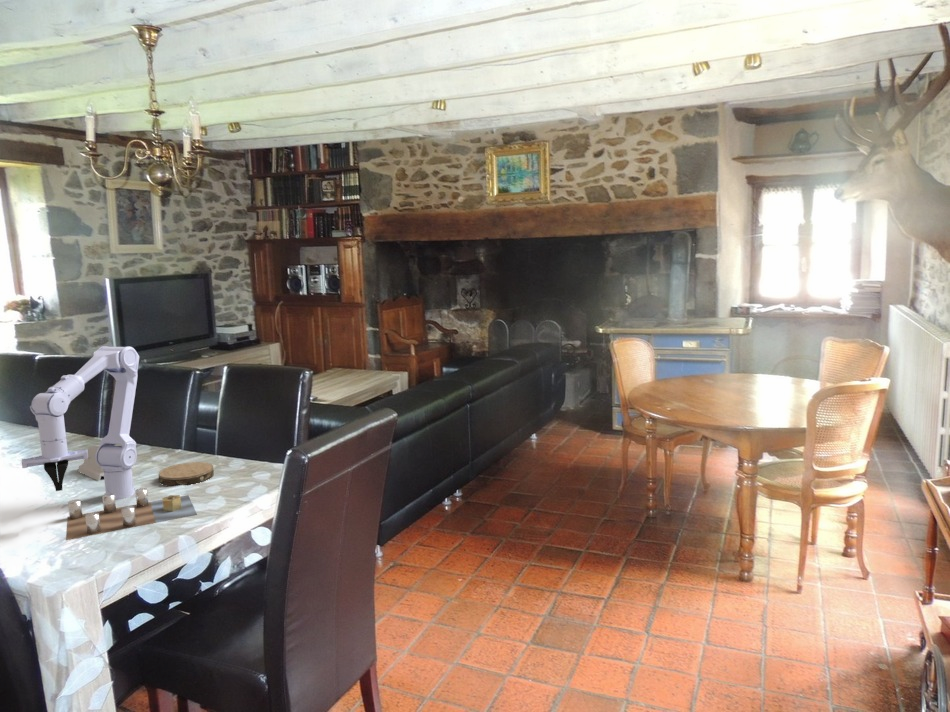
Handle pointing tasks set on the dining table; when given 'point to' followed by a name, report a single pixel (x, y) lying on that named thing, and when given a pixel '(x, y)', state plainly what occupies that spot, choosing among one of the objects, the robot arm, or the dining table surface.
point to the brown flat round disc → (186, 474)
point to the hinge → (91, 465)
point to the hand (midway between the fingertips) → (59, 489)
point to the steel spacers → (108, 510)
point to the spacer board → (142, 515)
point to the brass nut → (171, 503)
